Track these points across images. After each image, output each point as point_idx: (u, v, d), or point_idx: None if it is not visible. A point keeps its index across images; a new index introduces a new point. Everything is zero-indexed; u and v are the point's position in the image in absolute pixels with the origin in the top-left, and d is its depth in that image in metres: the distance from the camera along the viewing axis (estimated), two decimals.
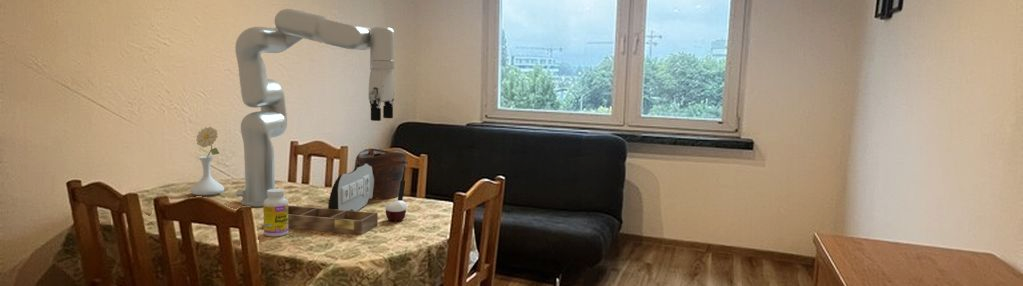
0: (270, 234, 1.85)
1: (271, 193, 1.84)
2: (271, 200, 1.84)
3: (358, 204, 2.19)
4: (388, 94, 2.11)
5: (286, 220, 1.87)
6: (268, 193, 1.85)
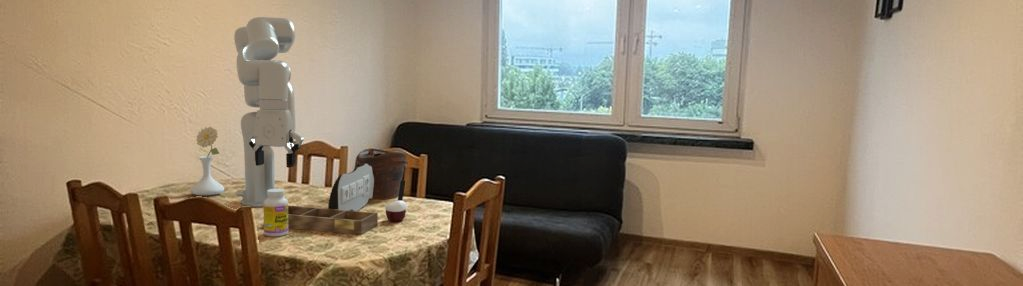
0: (270, 234, 1.85)
1: (271, 193, 1.84)
2: (271, 200, 1.84)
3: (358, 204, 2.19)
4: None
5: (286, 220, 1.87)
6: (268, 193, 1.85)
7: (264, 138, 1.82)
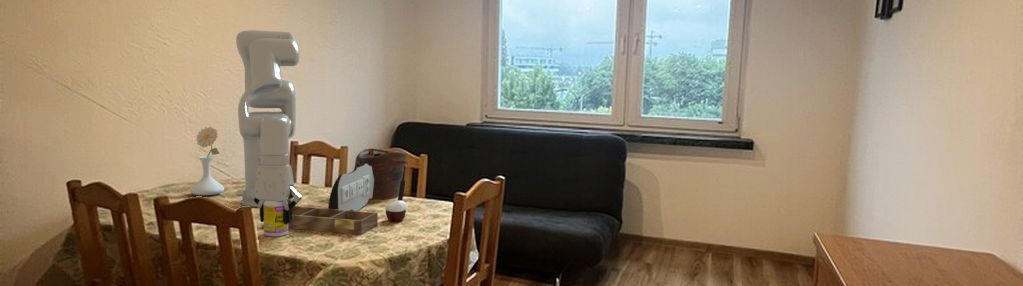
0: (270, 234, 1.85)
1: None
2: None
3: (358, 204, 2.19)
4: None
5: None
6: None
7: (265, 193, 1.84)
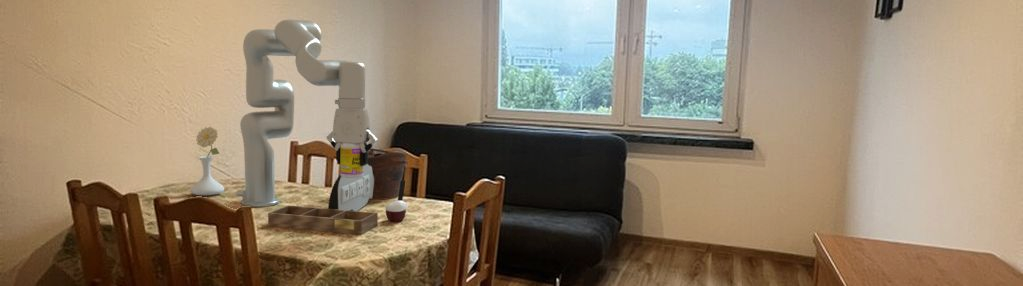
0: (347, 175, 1.91)
1: None
2: (348, 143, 1.91)
3: (358, 204, 2.19)
4: None
5: None
6: None
7: (343, 135, 1.90)
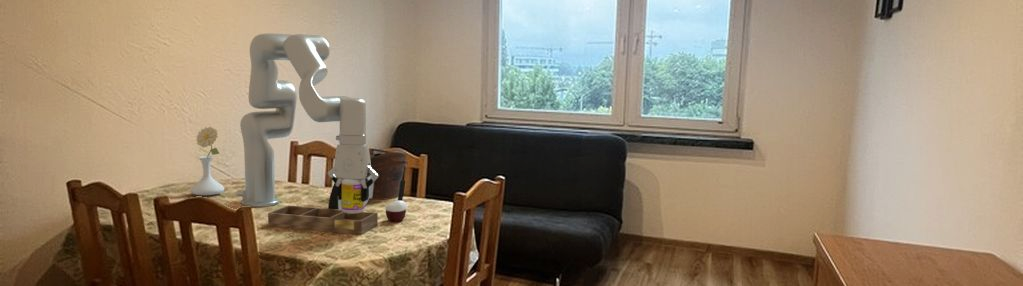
0: (348, 211, 1.92)
1: None
2: (350, 179, 1.92)
3: None
4: None
5: None
6: None
7: (344, 171, 1.92)
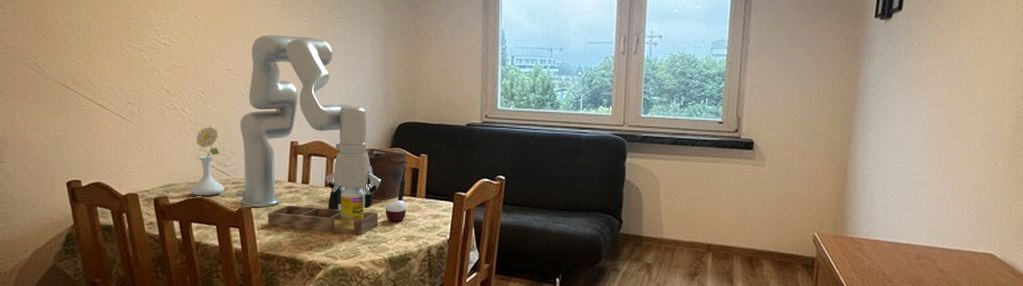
0: None
1: None
2: (349, 192, 1.93)
3: None
4: None
5: (362, 211, 1.95)
6: None
7: (344, 180, 1.92)
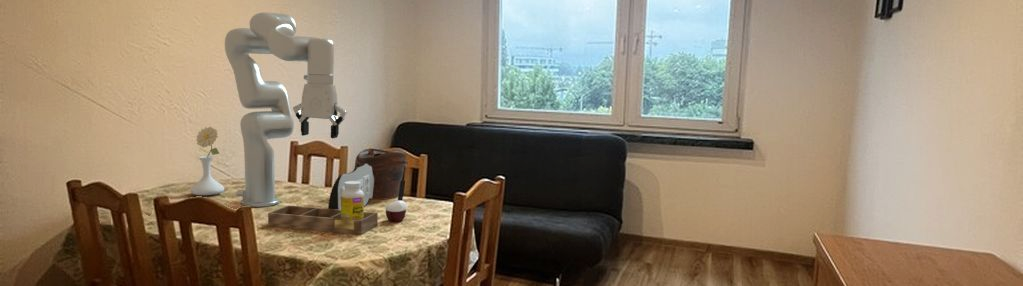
0: None
1: (349, 185, 1.93)
2: (349, 192, 1.93)
3: None
4: None
5: (362, 211, 1.95)
6: (346, 185, 1.93)
7: (311, 110, 1.96)
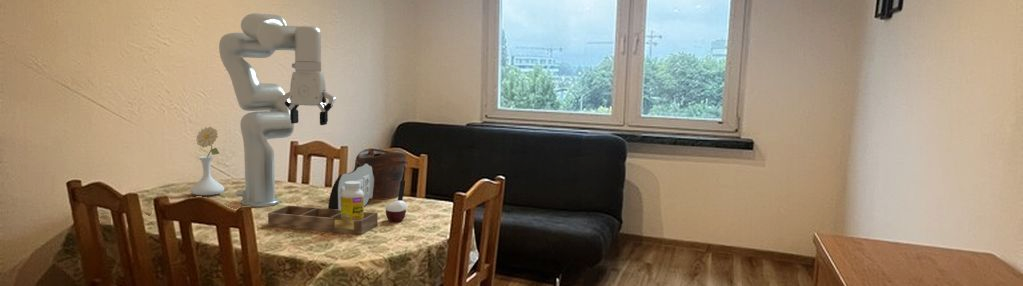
0: None
1: (349, 185, 1.93)
2: (349, 192, 1.93)
3: None
4: None
5: (362, 211, 1.95)
6: (346, 185, 1.93)
7: (299, 97, 1.97)
